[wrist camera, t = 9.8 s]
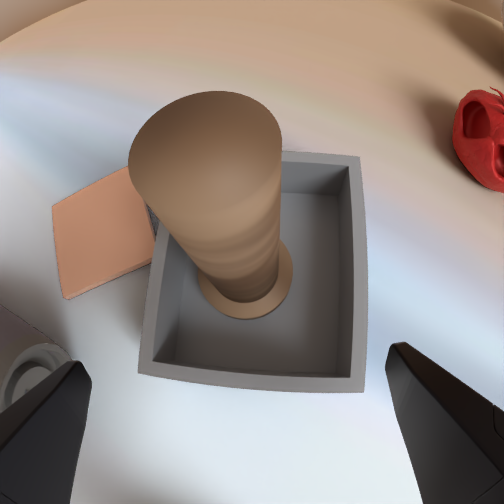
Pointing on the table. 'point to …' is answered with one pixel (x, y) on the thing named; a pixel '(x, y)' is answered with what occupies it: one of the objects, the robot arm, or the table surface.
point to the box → (291, 309)
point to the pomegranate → (481, 137)
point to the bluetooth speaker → (24, 357)
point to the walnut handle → (219, 195)
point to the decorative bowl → (502, 11)
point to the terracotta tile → (101, 234)
